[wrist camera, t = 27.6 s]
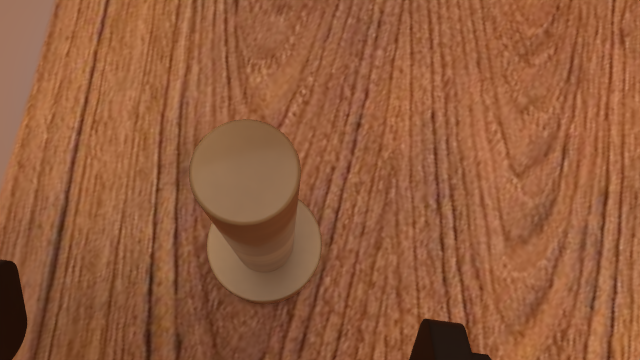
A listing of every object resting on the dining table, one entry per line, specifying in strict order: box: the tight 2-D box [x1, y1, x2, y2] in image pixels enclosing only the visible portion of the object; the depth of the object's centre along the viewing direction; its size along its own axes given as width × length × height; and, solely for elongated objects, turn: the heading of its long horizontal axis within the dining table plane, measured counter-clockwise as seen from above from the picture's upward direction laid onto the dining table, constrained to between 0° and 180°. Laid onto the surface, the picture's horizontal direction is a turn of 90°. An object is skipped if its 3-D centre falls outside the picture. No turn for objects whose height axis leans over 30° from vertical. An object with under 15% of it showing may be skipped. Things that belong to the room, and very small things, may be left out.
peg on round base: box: [189, 119, 322, 304], centre depth 16 cm, size 4×4×12 cm
